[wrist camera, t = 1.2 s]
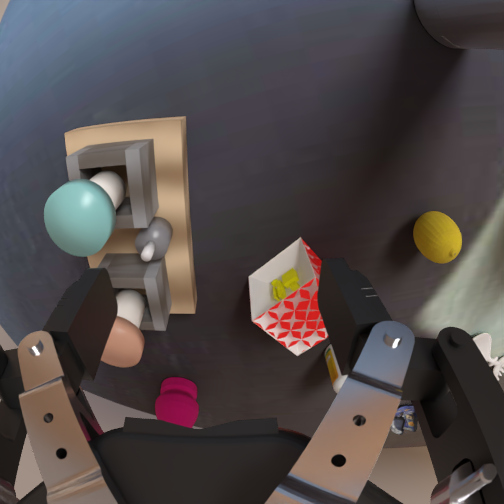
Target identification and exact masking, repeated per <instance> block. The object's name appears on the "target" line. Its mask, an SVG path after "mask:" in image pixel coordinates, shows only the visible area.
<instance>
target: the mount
mask: <svg viewBox="0 0 504 504" xmlns="http://www.w3.org/2000/svg"><path fill="white" fill-rule="evenodd" d="M65 142H66V150H67V157H66V162H67V169H68V176H69V181H71V180H74V179H87V180H90V179H91V178H92V177H93V176H95V175H96V174H97V173H99V172H101V171H112V172H115V173H117V174H118V175H119V176H120V177H121V178H122V180H123V181H124V183H125V187H126V195H125V198H124V200H123V202H122V203H121V204H120V205H119V207H118V208H117V209H116V210H115V211H116V225H115V228H114V231H113V233H112V234H111V236H110V237H109V239H108V240H107V242H106V243H105V244H104V246H103V247H102V248H101V250H99V251H98V252H97V253H95V254H93V255H91V256H87V258H88V262H89V266H90V268H106V269H107V271H108V273H109V276H110V280H111V283H112V286H113V290H114V293H115V295H116V293H117V292H118V291H119V290H121V289H133V290H135V291H137V292H139V293H140V294H141V295H142V296H143V297H144V299H145V301H146V308H145V311H144V314H143V317H142V321H141V324H140V327H139V329H140V330H159V331H166V327H167V323H168V318H169V314H170V313H177V314H195V310H196V302H197V292H196V282H195V271H194V260H193V248H192V235H191V221H190V205H189V188H188V167H187V139H186V116H185V117H168V118H155V119H143V120H133V121H124V122H116V123H108V124H101V125H94V126H88V127H81V128H77V129H74V130H71V131H69V132H66V133H65ZM153 217H162V218H164V219H166V220H167V221H168V222H169V223H170V224H171V226H172V228H173V236H172V239H171V241H170V244H169V247H168V250H167V252H166V254H165V255H164V256H163V257H162V258H160V259H158V260H150V261H144V260H142V258H141V255H140V254H139V253H138V251H137V250H136V247H135V240H136V237H137V235H138V234H139V232H140V230H141V228H148V226H149V224H150V222H151V220H152V219H153Z"/></svg>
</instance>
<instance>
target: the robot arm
mask: <svg viewBox="0 0 504 504" xmlns="http://www.w3.org/2000/svg"><path fill="white" fill-rule="evenodd" d="M414 4H415V9H416V12H417V15H418V17H419V19H420V21H421V23H422V25H423V26H424V28H425V29H426V30H427V32H428V33H429V34H430V35H431V36H432V37H433V38H434V39H435V40H436V41H438V42H439V43H440V44H442V45H444V46H446V47H450V48H460V49H496V50H504V0H414ZM317 301H318V308H319V311H320V314H321V317H322V320H323V322H324V325H325V328H326V331H327V334H328V337H329V340H330V342H331V345H332V348H333V351H334V354H335V357H336V360H337V363H338V366H339V369H340V372H341V375H342V376H344V375H348V376H347V378H346V380H345V381H344V383H343V385H342V387H341V389H340V391H339V393H338V394H337V396H336V398H335V400H334V402H333V403H332V405H331V407H330V409H329V410H328V412H327V414H326V416H325V417H324V419H323V421H322V422H321V424H320V426H319V427H318V429H317V431H316V432H315V434H314V436H313V437H312V438H311V437H309V436H306V435H304V434H302V433H299V432H296V431H293V430H289V429H284V428H278V425H277V418H267V419H253V420H237V421H233V422H229V423H225V424H221V425H217V426H213V427H208V428H204V429H193V428H189V427H185V426H181V425H177V424H173V423H170V422H166V421H163V420H155V419H140V418H130V417H126V418H125V422H124V427H122V428H118V429H113V430H110V431H107V432H105V433H104V432H103V431H102V429H101V427H100V426H99V424H98V422H97V420H96V418H95V416H94V414H93V412H92V410H91V407H90V405H89V403H88V401H87V399H86V396H85V394H84V392H83V390H82V388H81V386H80V383H81V381H82V379H83V380H92V381H94V378H95V375H96V372H97V369H98V366H99V363H100V360H101V357H102V354H103V352H104V349H105V346H106V343H107V341H108V338H109V335H110V333H111V330H112V327H113V325H114V322H115V319H116V317H117V313H118V304H117V299H116V296H115V293H114V290H113V286H112V283H111V280H110V276H109V273H108V271H107V269H106V268H87V269H86V270H85V271H84V273H83V275H82V276H81V278H80V279H79V281H76V282H75V283H73V284H72V285H71V286H70V287H69V288H68V289H67V290H66V291H65V293H64V294H63V296H62V298H61V300H60V301H59V303H58V304H57V307H55V309H54V311H53V313H52V314H51V316H50V318H49V319H48V321H47V323H46V325H45V326H44V328H43V330H42V331H36V332H33V333H31V334H29V335H27V336H26V337H25V338H24V339H23V340H22V341H21V342H20V344H19V347H18V348H17V349H11V350H6V351H4V350H3V349H2V347H1V345H0V399H1V402H0V504H403V503H401V502H399V501H398V500H396V499H395V498H394V497H392V496H391V495H389V494H388V493H386V492H385V491H383V490H382V489H380V488H379V487H377V486H376V485H375V484H373V483H372V482H370V481H369V480H368V478H369V476H370V474H371V472H372V470H373V467H374V465H375V463H376V461H377V459H378V456H379V454H380V452H381V449H382V447H383V445H384V442H385V440H386V437H387V435H388V432H389V430H390V427H391V425H392V422H393V419H394V417H395V414H396V411H397V408H398V406H399V403H400V400H411V402H412V405H413V407H414V410H415V413H416V416H417V418H418V421H419V424H420V427H421V430H422V433H423V436H424V439H425V442H426V445H427V448H428V451H429V454H430V457H431V460H432V464H433V467H434V470H435V474H436V477H437V481H438V484H437V485H436V486H435V488H434V489H433V492H432V494H431V504H504V392H503V390H502V388H501V386H500V384H499V382H498V381H497V379H496V377H495V375H494V373H493V372H492V370H491V368H490V367H489V365H488V363H487V361H486V360H485V358H484V356H483V355H482V353H481V351H480V350H479V348H478V347H477V345H476V343H475V342H474V340H473V339H472V337H471V336H470V335H469V334H468V333H467V332H465V331H464V330H462V329H459V328H455V327H447V328H444V329H442V330H441V331H440V332H439V335H438V337H437V339H430V338H419V337H414V335H413V333H412V331H411V330H410V329H409V328H408V327H406V326H405V325H403V324H401V323H399V322H395V321H393V320H392V319H391V317H390V315H389V314H388V312H387V310H386V308H385V307H384V305H383V303H382V302H381V300H380V298H379V297H378V296H377V293H376V292H375V290H374V289H373V288H372V285H371V284H370V282H369V280H368V279H367V278H366V277H365V276H364V275H363V274H361V273H360V272H359V271H357V270H354V271H351V270H350V268H349V266H348V265H347V263H346V261H345V260H344V258H330V259H323V260H322V263H321V270H320V278H319V286H318V294H317ZM450 391H451V392H450ZM451 393H452V394H451ZM452 395H453V396H452ZM454 400H455V401H454ZM455 402H456V403H455ZM456 404H457V405H456ZM27 433H28V436H29V439H30V443H31V446H32V449H33V452H34V455H35V458H36V462H37V464H38V467H39V470H40V473H41V475H42V478H43V482H42V483H40V484H39V485H38V486H37V487H35V488H34V489H33V490H32V491H31V492H29V493H28V494H27V495H26V496H25V497H23V498H22V499H21V500H19V499H18V498H16V493H15V490H14V484H15V479H16V475H17V470H18V466H19V461H20V457H21V453H22V449H23V445H24V441H25V438H26V434H27Z"/></svg>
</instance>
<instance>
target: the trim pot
mask: <svg viewBox="0 0 504 504" xmlns="http://www.w3.org/2000/svg"><path fill="white" fill-rule="evenodd" d="M172 236H173V228H172V226H171V224H170V223H169V222H168V221H167V220H166V219H164V218H162V217H153V219H152V220H151V222H150V224H149V226H148V228H141V230H140V232H139V234H138V235H137V237H136V240H135V247H136V250H137V251H138V253H139V254H140V255H141V258H142V260H144V261H150V260H158V259H160V258H162V257H163V256H164V255H165V254H166V252H167V250H168V247H169V244H170V241H171V239H172Z"/></svg>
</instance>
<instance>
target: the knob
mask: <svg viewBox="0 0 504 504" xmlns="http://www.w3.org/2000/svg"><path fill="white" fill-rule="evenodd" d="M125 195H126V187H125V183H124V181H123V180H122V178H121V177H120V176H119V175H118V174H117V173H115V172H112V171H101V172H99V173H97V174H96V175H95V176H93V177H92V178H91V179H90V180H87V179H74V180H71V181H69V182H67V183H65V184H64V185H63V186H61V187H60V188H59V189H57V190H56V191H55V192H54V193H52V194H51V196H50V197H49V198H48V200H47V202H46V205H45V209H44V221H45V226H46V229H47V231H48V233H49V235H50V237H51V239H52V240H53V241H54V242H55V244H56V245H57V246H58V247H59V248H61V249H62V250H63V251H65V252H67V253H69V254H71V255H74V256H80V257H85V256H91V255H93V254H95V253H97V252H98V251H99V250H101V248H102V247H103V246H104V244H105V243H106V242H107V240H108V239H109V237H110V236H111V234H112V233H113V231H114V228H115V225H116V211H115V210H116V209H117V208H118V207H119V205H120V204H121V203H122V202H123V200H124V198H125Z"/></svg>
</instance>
